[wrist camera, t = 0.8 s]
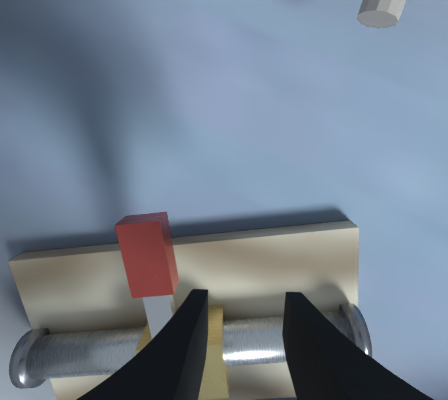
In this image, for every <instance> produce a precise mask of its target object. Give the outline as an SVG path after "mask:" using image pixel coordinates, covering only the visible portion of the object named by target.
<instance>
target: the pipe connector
mask: <svg viewBox="0 0 448 400" xmlns="http://www.w3.org/2000/svg"><path fill="white" fill-rule="evenodd" d="M405 2H406V0H363V2H362V5H361V8H360V10H359V13H358V16H357V20H358V21H359V22H360V23H361V24H363V25H365V26H367V27H373V28H388V27H391V26H394V25H396V23H397V22H398V21H399V18H400V15H401V13H402V10H403V8H404V5H405Z"/></svg>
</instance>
